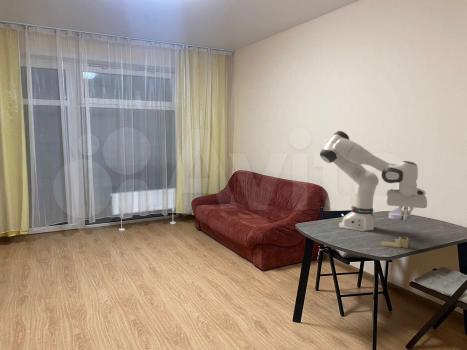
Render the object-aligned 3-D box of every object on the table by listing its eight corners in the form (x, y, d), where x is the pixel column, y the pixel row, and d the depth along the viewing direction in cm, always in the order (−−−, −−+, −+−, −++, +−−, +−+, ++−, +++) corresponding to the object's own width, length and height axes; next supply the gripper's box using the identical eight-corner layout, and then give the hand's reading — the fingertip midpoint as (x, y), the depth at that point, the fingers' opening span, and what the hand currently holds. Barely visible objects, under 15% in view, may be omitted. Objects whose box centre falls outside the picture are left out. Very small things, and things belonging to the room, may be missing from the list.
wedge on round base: (392, 215, 273) (386, 217, 263) (393, 206, 272) (387, 209, 262) (404, 217, 267) (399, 220, 257) (405, 208, 266) (400, 211, 256)
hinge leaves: (382, 245, 199) (382, 237, 198) (380, 238, 212) (381, 230, 211) (409, 248, 194) (410, 240, 193) (406, 241, 207) (406, 233, 207)
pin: (403, 221, 195) (404, 207, 194) (402, 220, 197) (403, 206, 196) (407, 221, 195) (408, 207, 194) (406, 220, 196) (407, 207, 195)
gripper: (387, 189, 194) (386, 213, 196) (428, 192, 187) (426, 217, 189) (386, 188, 200) (385, 211, 202) (426, 190, 193) (424, 214, 195)
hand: (405, 214), depth 195 cm, fingers closed on pin, 2 cm apart
